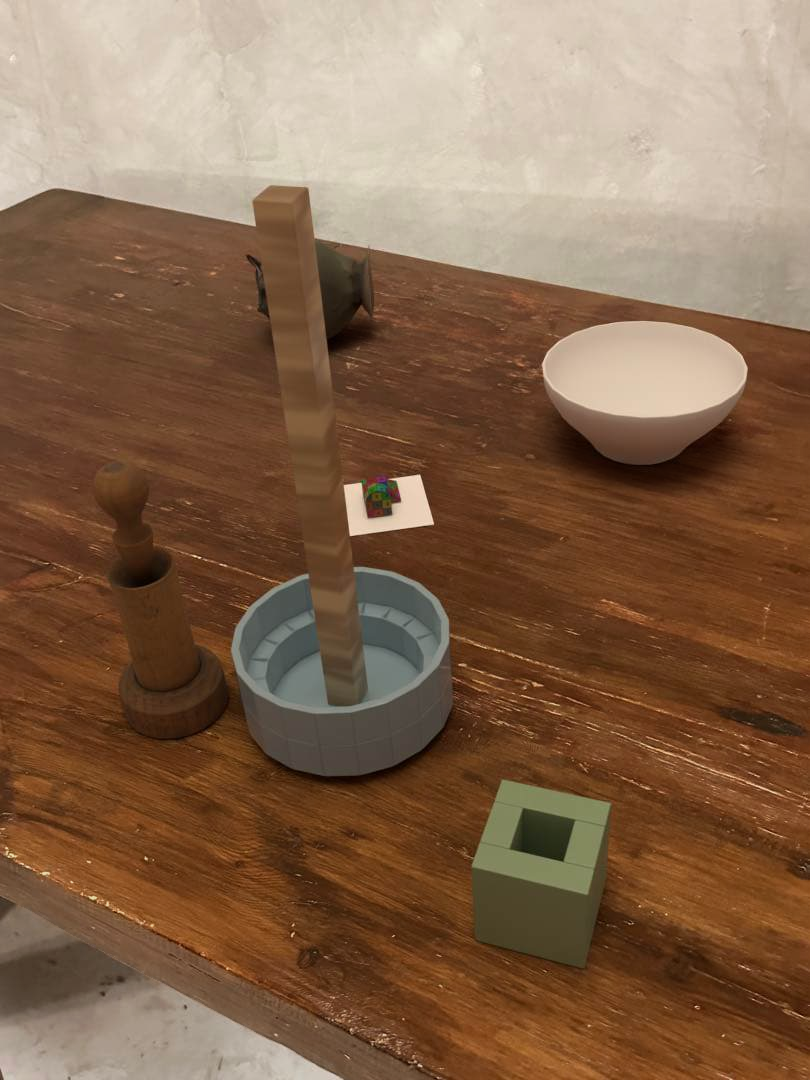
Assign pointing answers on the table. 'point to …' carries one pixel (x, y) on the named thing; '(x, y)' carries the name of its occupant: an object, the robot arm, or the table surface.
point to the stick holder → (541, 872)
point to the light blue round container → (391, 667)
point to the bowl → (643, 387)
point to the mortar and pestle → (155, 621)
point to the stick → (312, 432)
